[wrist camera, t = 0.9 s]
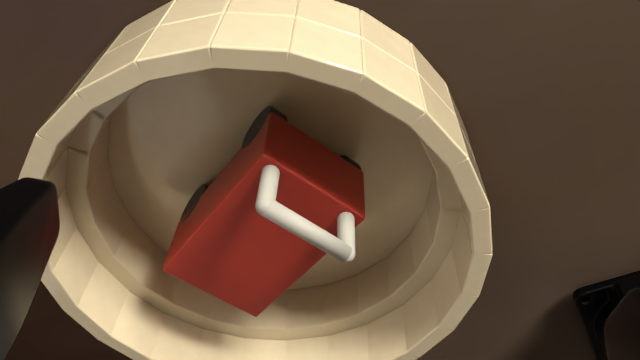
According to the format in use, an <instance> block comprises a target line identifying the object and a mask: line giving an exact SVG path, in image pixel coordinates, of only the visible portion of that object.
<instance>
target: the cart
mask: <svg viewBox="0 0 640 360" xmlns="http://www.w3.org/2000/svg"><path fill="white" fill-rule="evenodd" d="M365 218H366V217H365V196H364V175H363V172H362V171H361V167H360V165H359V164H358V163H356V162H355V161H353V160H352V159H350V158H349V157H347V156H345V155H341V156H338V155H337V154H335V153H334V152H332V151H331V150H329V149H328V148H326V147H325V146H323V145H322V144H320V143H319V142H317V141H316V140H314V139H313V138H311V137H310V136H308V135H307V134H305V133H304V132H302V131H301V130H299V129H297V128H296V127H294V126H293V125H291V124H290V123H288V122H287V117H286V116H285V115H284V114H282V113H281V112H279V111H278V110H276V109H275V108H273V107H272V106H268V107H266V108H265V109H264V110H263V111H262V112H261V113H260V114H259V115H258V116H257V117H256V119H255V120H254V122H253V123H252V125H251V126H250V128H249V130H248V131H247V133H246V135H245V137H244V140H243V143H242V147H241V148H240V150H239V151H238V152H237V153H236V154H235V156H234V157H233V158H232V159H231V160H230V162H229V163H228V164H227V165H226V166H225V168H224V169H223V170H222V171H221V172H220V174H219V175H218V176H217V177H216V178H215V180H214V181H213V182H212V183H211V184H210V186H208V185H206V184H202V185H201V186H200V187H199V188H198V189H197V190H196V191H195V193H194V194H193V196H192V197H191V199H190V200H189V202H188V204H187V205H186V207H185V209H184V211H183V213H182V216H181V219H180V221H179V223H178V226H177V229H176V231H175V234H174V237H173V240H172V243H171V246H170V249H169V252H168V254H167V257H166V260H165V263H164V266H163V271H165V272H167V273H169V274H171V275H173V276H175V277H177V278H179V279H181V280H183V281H185V282H187V283H189V284H191V285H193V286H195V287H197V288H199V289H201V290H203V291H205V292H207V293H209V294H211V295H213V296H215V297H217V298H219V299H221V300H223V301H225V302H227V303H229V304H231V305H233V306H235V307H237V308H239V309H241V310H243V311H245V312H247V313H249V314H251V315H253V316H255V317H257V316H258V315H259V314H260V313H261V312H263V311H264V310H265V309H266V308H267V307H268V306H269V305H270V304H271V303H273V302H274V301H275V300H276V299H277V298H278V297H279V296H280V295H281V294H282V293H284V292H285V291H286V290H287V289H288V288H289V287H290V286H291V285H292V284H294V283H295V282H296V281H297V280H298V279H299V278H300V277H301V276H302V275H304V274H305V273H306V272H307V271H308V270H309V269H310V268H311V267H312V266H314V265H315V264H316V263H317V262H318V261H319V260H320V259H321V258H322V257H323V256H325V255H326V254H329V255H331V256H333V257H334V258H336V259H338V260H340V261H341V262H343V263H349V262H351V261H353V259H354V258H355V228H356V227H357V226H358V225H359V224H360V223H361V222H362V221H363V220H364V219H365Z"/></svg>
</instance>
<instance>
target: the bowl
mask: <svg viewBox="0 0 640 360" xmlns="http://www.w3.org/2000/svg"><path fill="white" fill-rule="evenodd" d="M268 106H272V107H273V108H275V109H276V110H278V111H279V112H281V113H282V114H284V115H285V116H286V117H287V122H288V123H290V124H291V125H293V126H294V127H296V128H297V129H299V130H301V131H302V132H304V133H305V134H307V135H308V136H310V137H311V138H313V139H314V140H316V141H317V142H319V143H320V144H322V145H323V146H325V147H326V148H328V149H329V150H331V151H332V152H334V153H335V154H337V155H338V156H341V155H345V156H347V157H349V158H350V159H352V160H353V161H355V162H356V163H358V164H359V165H360V167H361V171H362V172H363V175H364V196H365V217H366V218H365V219H364V220H363V221H362V222H361V223H360V224H359V225H358V226H357V227H356V228H355V258H354V259H353V261H351V262H349V263H343V262H341V261H340V260H338V259H336V258H334V257H333V256H331V255H329V254H326V255H325V256H323V257H322V258H321V259H320V260H319V261H318V262H317V263H316V264H315V265H314V266H312V267H311V268H310V269H309V270H308V271H307V272H306V273H305V274H304V275H302V276H301V277H300V278H299V279H298V280H297V281H296V282H295V283H294V284H292V285H291V286H290V287H289V288H288V289H287V290H286V291H285V292H284V293H282V294H281V295H280V296H279V297H278V298H277V299H276V300H275V301H274V302H273V303H271V304H270V305H269V306H268V307H267V308H266V309H265V310H264V311H263V312H261V313H260V314H259V315H258V316H257V317H255V316H253V315H251V314H249V313H247V312H245V311H243V310H241V309H239V308H237V307H235V306H233V305H231V304H229V303H227V302H225V301H223V300H221V299H219V298H217V297H215V296H213V295H211V294H209V293H207V292H205V291H203V290H201V289H199V288H197V287H195V286H193V285H191V284H189V283H187V282H185V281H183V280H181V279H179V278H177V277H175V276H173V275H171V274H169V273H167V272H165V271H163V266H164V263H165V260H166V257H167V254H168V252H169V249H170V246H171V243H172V240H173V237H174V234H175V231H176V229H177V226H178V223H179V221H180V219H181V216H182V213H183V211H184V209H185V207H186V205H187V204H188V202H189V200H190V199H191V197H192V196H193V194H194V193H195V191H196V190H197V189H198V188H199V187H200V186H201V185H202V184H206V185H208V186H210V184H211V183H212V182H213V181H214V180H215V178H216V177H217V176H218V175H219V174H220V172H221V171H222V170H223V169H224V168H225V166H226V165H227V164H228V163H229V162H230V160H231V159H232V158H233V157H234V156H235V154H236V153H237V152H238V151H239V150H240V148H241V147H242V143H243V140H244V137H245V135H246V133H247V131H248V130H249V128H250V126H251V125H252V123H253V122H254V120H255V119H256V117H257V116H258V115H259V114H260V113H261V112H262V111H263V110H264V109H265V108H266V107H268ZM25 177H30V178H36V179H41V180H47V181H51V182H53V183H54V184H55V186H56V188H57V196H58V206H59V217H60V230H59V235H58V238H57V241H56V244H55V246H54V248H53V251H52V253H51V256H50V258H49V261H48V263H47V266H46V268H45V271H44V273H43V275H42V278H41V281H42V283H43V284H44V285H45V287H46V288H47V289H48V291H49V292H50V293H51V295H52V296H53V298H54V299H55V300H56V302H57V303H58V304H59V306H60V307H61V308H62V309H63V311H65V312H66V313H67V314H68V315H69V316H70V317H72V318H73V319H74V320H75V321H76V322H77V323H79V324H80V325H81V326H82V327H83V328H85V329H86V330H87V331H88V332H89V333H90V334H92V335H93V336H94V337H95V338H96V339H97V340H99V341H101V342H103V343H104V344H106V345H108V346H110V347H111V348H113V349H115V350H117V351H118V352H120V353H122V354H124V355H125V356H127V357H129V358H131V359H132V360H417V359H418V358H420V357H421V356H422V355H424V354H425V353H426V352H427V351H429V350H430V349H431V348H432V347H434V346H435V345H436V344H438V343H439V342H440V341H441V340H443V339H444V338H445V337H446V336H448V335H449V334H450V333H452V331H453V330H455V328H456V327H457V326H458V324H459V323H460V321H461V320H462V319H463V317H464V316H465V315H466V313H467V312H468V311H469V309H470V308H471V306H472V305H473V304H474V302H475V301H476V300H477V298H478V296H479V295H480V292H481V289H482V286H483V283H484V280H485V277H486V274H487V270H488V267H489V264H490V261H491V258H492V255H493V254H492V252H493V248H492V229H491V210H490V204H489V201H488V198H487V195H486V191H485V188H484V185H483V182H482V179H481V176H480V173H479V170H478V167H477V163H476V161H475V157H474V154H473V151H472V148H471V145H470V142H469V139H468V135H467V132H466V129H465V126H464V124H463V121H462V119H461V117H460V114H459V112H458V110H457V107H456V105H455V103H454V100H453V98H452V96H451V93H450V91H449V89H448V86H447V85H446V84H445V81H444V80H443V79H442V78H441V77H440V75H439V74H438V73H437V72H436V71H435V70H434V69H433V67H432V66H431V65H430V64H429V63H428V62H427V60H426V59H425V58H424V57H423V56H422V55H421V53H420V52H419V51H418V50H417V49H416V48H415V46H414V45H413V44H412V43H410V42H409V41H408V40H407V39H405V38H404V37H402V36H401V35H399V34H398V33H396V32H395V31H393V30H391V29H390V28H388V27H387V26H385V25H384V24H382V23H381V22H379V21H378V20H376V19H375V18H373V17H372V16H370V15H368V14H367V13H365V12H364V11H362V10H359V9H358V8H355V7H352V6H349V5H346V4H343V3H340V2H337V1H334V0H173V1H171V2H169V3H167V4H165V5H163V6H162V7H160V8H158V9H156V10H154V11H153V12H151V13H149V14H147V15H145V16H144V17H142V18H140V19H138V20H136V21H134V22H133V23H131V24H129V25H127V27H125V28H124V29H123V30H122V31H121V32H120V33H119V34H118V35H117V36H116V38H115V39H114V40H113V41H112V42H111V43H110V44H109V45H108V46H107V47H106V48H105V49H104V51H103V52H102V53H101V54H100V55H99V56H98V57H97V58H96V59H95V60H94V61H93V62H92V64H91V65H90V66H89V67H88V69H87V70H86V71H85V72H84V74H83V75H82V76H81V77H80V79H79V80H78V81H77V82H76V84H75V85H74V86H73V87H72V89H71V90H70V91H69V92H68V94H67V95H66V96H65V97H64V99H63V100H62V101H61V102H60V104H59V105H58V106H57V107H56V109H55V110H54V111H53V112H52V114H51V115H50V116H49V117H48V119H47V120H46V121H45V122H44V124H43V125H42V126H41V127H40V129H39V130H38V131H37V133H36V134H35V137H34V139H33V142H32V144H31V147H30V150H29V152H28V155H27V157H26V160H25V162H24V165H23V167H22V170H21V173H20V175H19V178H18V180H19V179H22V178H25Z"/></svg>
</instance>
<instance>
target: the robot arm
mask: <svg viewBox="0 0 640 360" xmlns="http://www.w3.org/2000/svg"><path fill="white" fill-rule="evenodd" d="M59 230H60V217H59V206H58V196H57V188H56V186H55V184H54V183H53V182H51V181H47V180H41V179H36V178H30V177H25V178H22V179H19V180H17V181H15V182H13V183H11V184H9V185H7V186H5V187H3V188H1V189H0V360H4V359H5V357H6V355H7V353H8V351H9V350H10V348H11V346H12V344H13V342H14V340H15V338H16V336H17V334H18V333H19V331H20V329H21V326H22V324H23V322H24V319H25V317H26V315H27V312H28V310H29V307H30V305H31V303H32V300H33V298H34V295H35V293H36V290H37V288H38V285H39V283H40V280H41V278H42V275H43V273H44V271H45V268H46V266H47V263H48V261H49V258H50V256H51V253H52V251H53V248H54V246H55V244H56V241H57V238H58V235H59ZM573 298H574V301H575V304H576V306H577V309H578V312H579V315H580V317H581V320H582V323H583V325H584V328H585V331H586V333H587V336H588V339H589V341H590V344H591V347H592V349H593V352H594V355H595V357H596V360H640V271H638V272H634V273H631V274H627V275H624V276H620V277H616V278H613V279H609V280H606V281H602V282H599V283H595V284H592V285H588V286H585V287H581V288H579V289H577V290H576V291H574V293H573Z"/></svg>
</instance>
